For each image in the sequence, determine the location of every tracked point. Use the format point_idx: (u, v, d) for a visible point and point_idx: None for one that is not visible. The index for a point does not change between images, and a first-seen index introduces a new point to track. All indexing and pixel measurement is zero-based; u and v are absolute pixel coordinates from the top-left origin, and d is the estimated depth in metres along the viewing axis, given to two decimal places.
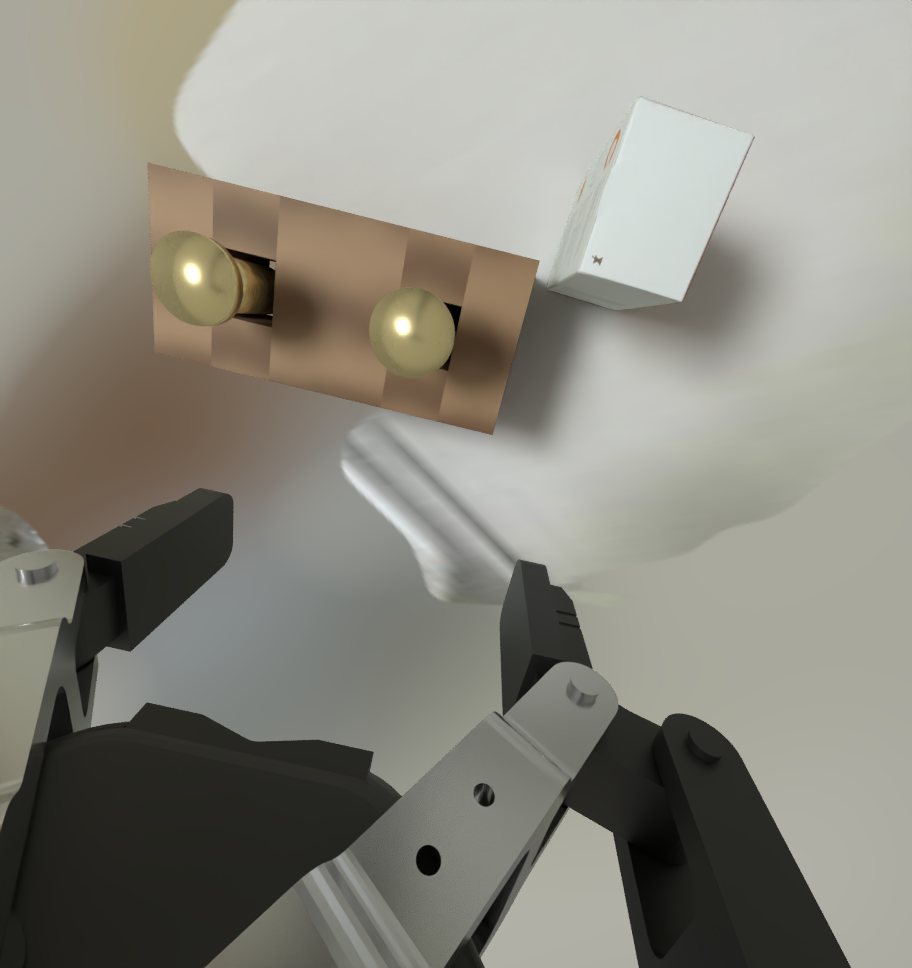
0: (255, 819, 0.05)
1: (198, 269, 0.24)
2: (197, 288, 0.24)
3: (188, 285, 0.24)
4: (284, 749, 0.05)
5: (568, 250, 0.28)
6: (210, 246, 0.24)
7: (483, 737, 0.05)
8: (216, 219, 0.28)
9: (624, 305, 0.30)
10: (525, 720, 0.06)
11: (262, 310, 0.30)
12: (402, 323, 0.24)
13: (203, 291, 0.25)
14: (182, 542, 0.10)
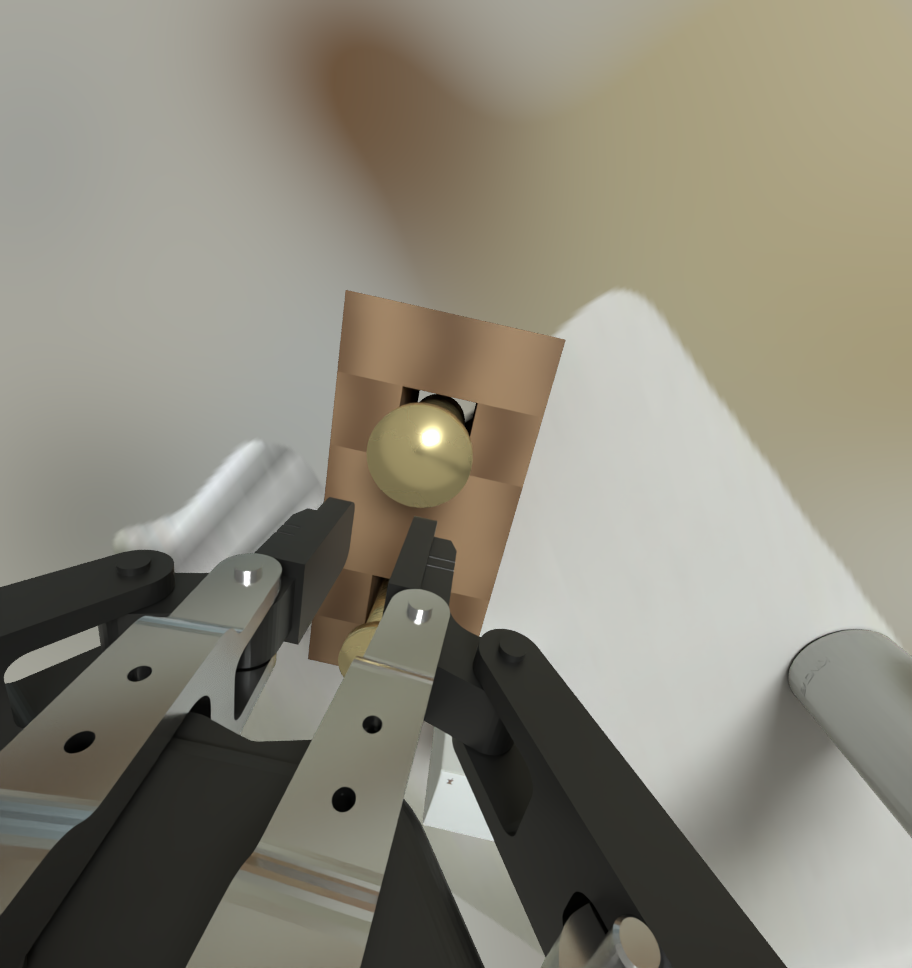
0: (255, 819, 0.05)
1: (431, 469, 0.20)
2: (410, 463, 0.20)
3: (412, 453, 0.20)
4: (285, 750, 0.05)
5: None
6: (455, 488, 0.20)
7: (355, 681, 0.06)
8: (503, 413, 0.24)
9: None
10: (382, 652, 0.07)
11: None
12: None
13: (406, 469, 0.20)
14: (330, 546, 0.11)
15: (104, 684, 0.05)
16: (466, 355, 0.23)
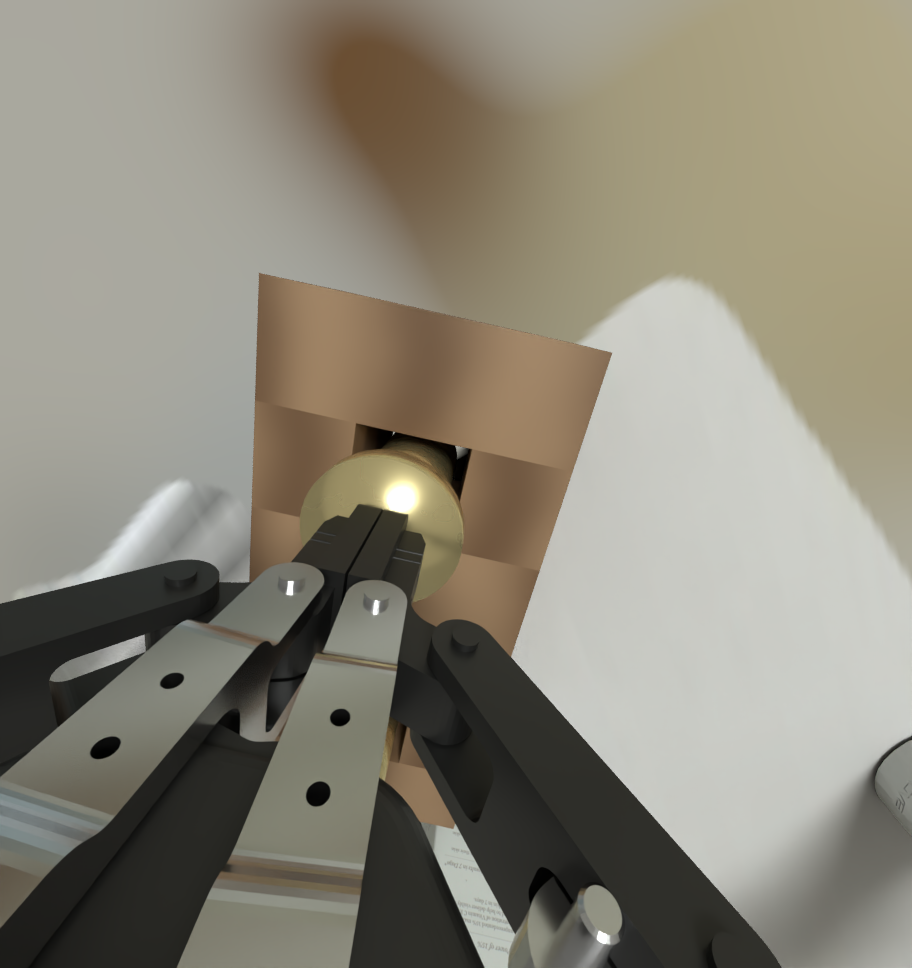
0: None
1: None
2: None
3: None
4: None
5: None
6: (437, 579, 0.13)
7: (318, 676, 0.06)
8: (511, 464, 0.16)
9: None
10: (342, 646, 0.07)
11: None
12: None
13: None
14: None
15: (138, 688, 0.05)
16: (453, 377, 0.15)
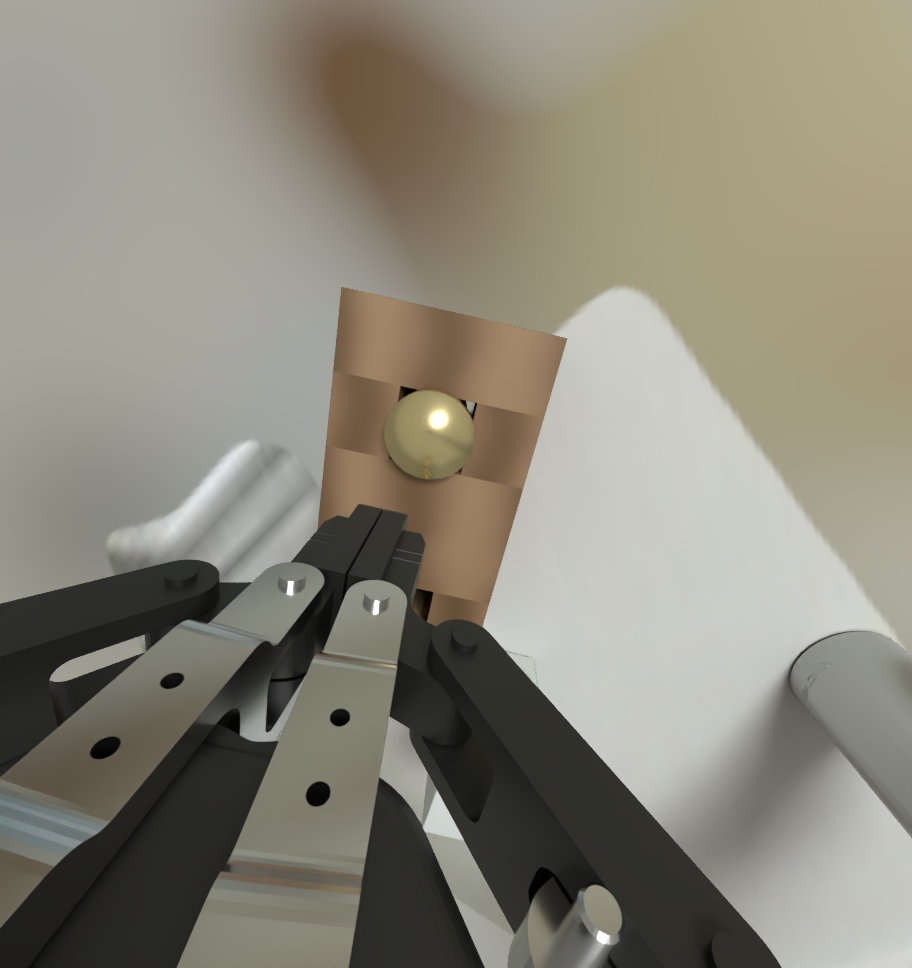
0: None
1: (439, 445, 0.23)
2: (421, 441, 0.23)
3: (423, 431, 0.23)
4: None
5: None
6: (460, 462, 0.24)
7: (318, 676, 0.06)
8: (503, 413, 0.24)
9: None
10: (342, 646, 0.07)
11: None
12: None
13: (418, 446, 0.23)
14: None
15: (138, 688, 0.05)
16: (465, 354, 0.23)
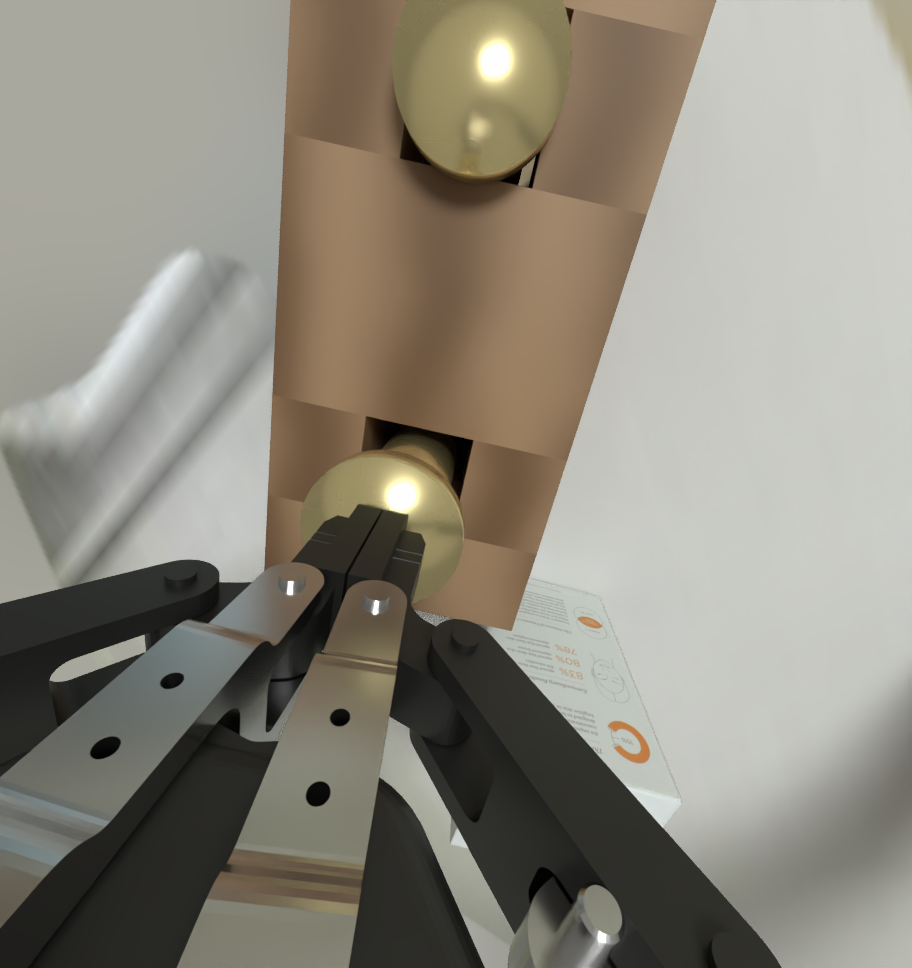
0: None
1: (500, 88, 0.12)
2: (465, 78, 0.12)
3: (470, 53, 0.12)
4: None
5: (523, 645, 0.22)
6: (539, 128, 0.12)
7: (318, 677, 0.06)
8: (624, 32, 0.12)
9: None
10: (342, 646, 0.07)
11: None
12: None
13: (459, 92, 0.12)
14: None
15: (138, 689, 0.05)
16: None
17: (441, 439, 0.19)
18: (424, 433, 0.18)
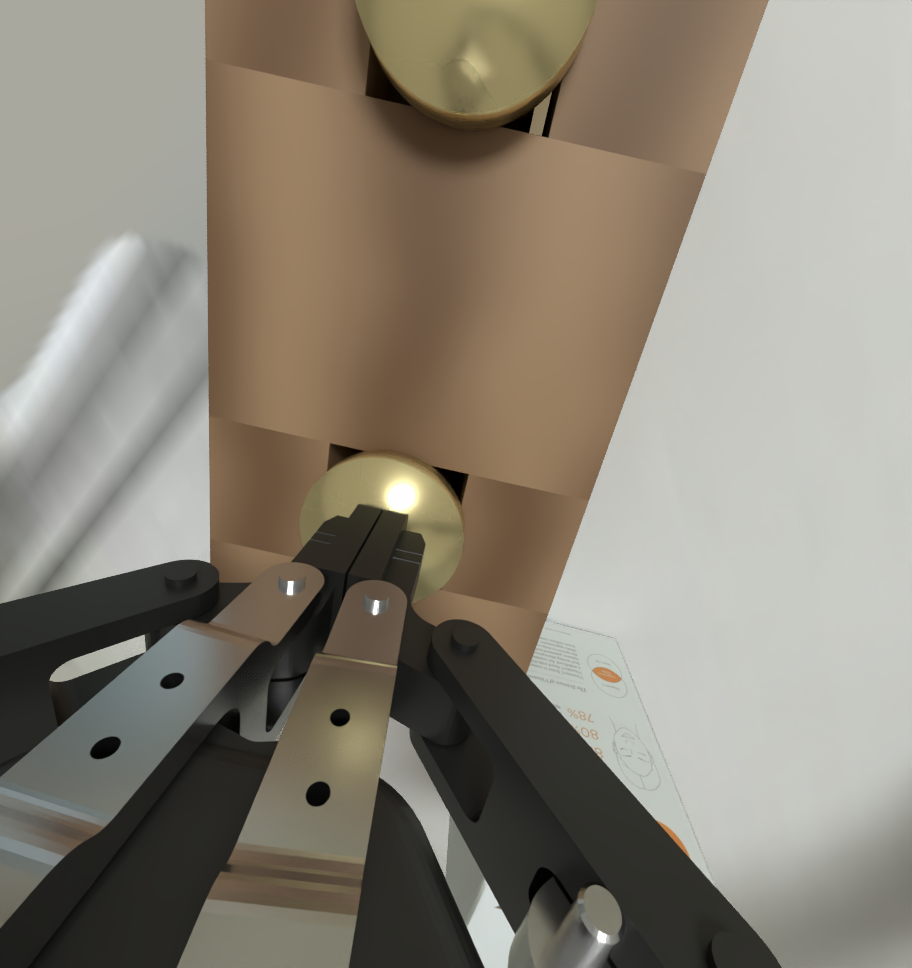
0: None
1: None
2: None
3: None
4: None
5: None
6: (562, 41, 0.08)
7: (318, 676, 0.06)
8: None
9: None
10: (342, 646, 0.07)
11: None
12: None
13: None
14: None
15: (138, 688, 0.05)
16: None
17: None
18: None
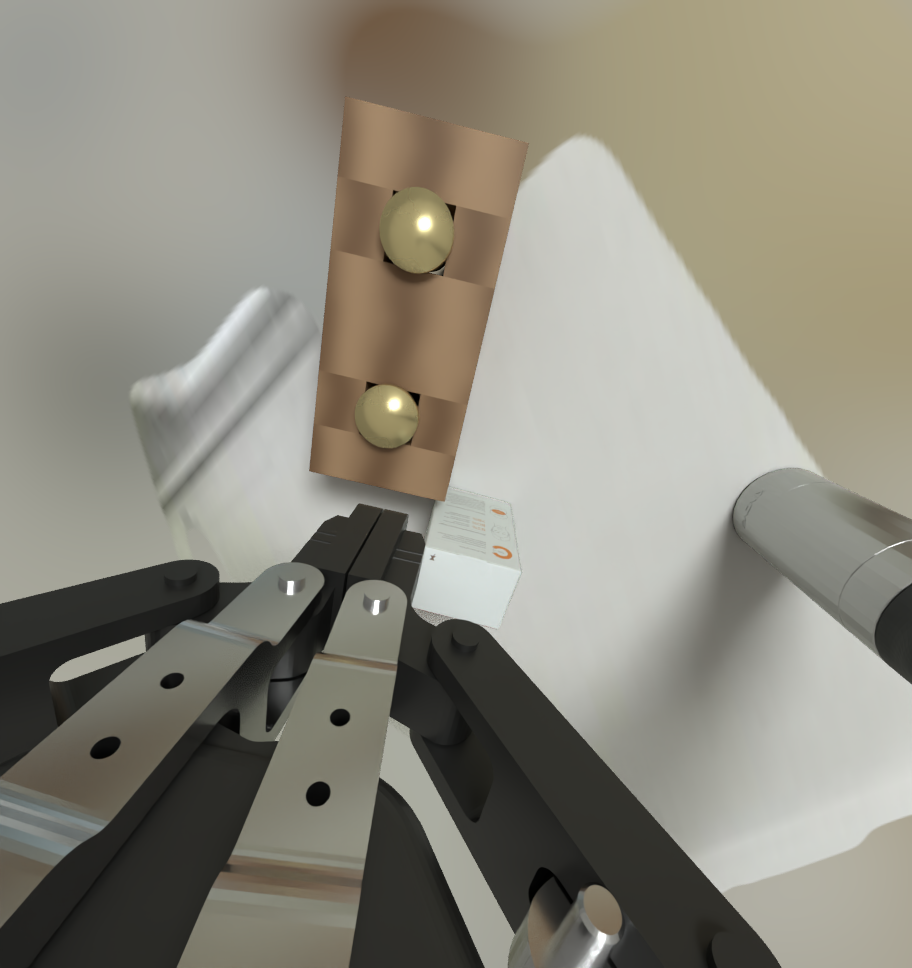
0: None
1: (424, 239, 0.28)
2: (410, 235, 0.28)
3: (412, 226, 0.28)
4: None
5: (454, 516, 0.39)
6: (442, 255, 0.29)
7: (318, 676, 0.06)
8: (477, 215, 0.29)
9: None
10: (342, 646, 0.07)
11: None
12: (393, 411, 0.33)
13: (407, 240, 0.28)
14: None
15: (138, 688, 0.05)
16: (446, 159, 0.28)
17: None
18: None
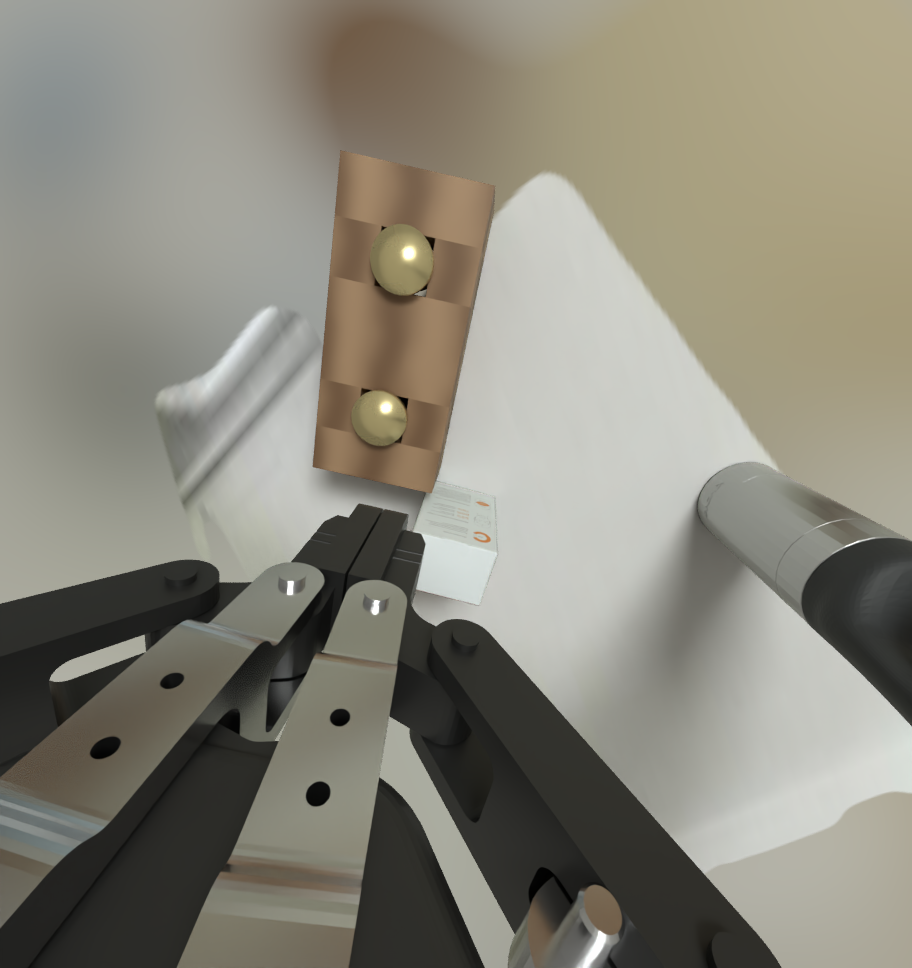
0: None
1: (408, 267, 0.33)
2: (396, 263, 0.33)
3: (397, 256, 0.33)
4: None
5: (441, 506, 0.43)
6: (423, 280, 0.34)
7: (318, 676, 0.06)
8: (453, 245, 0.34)
9: None
10: (342, 646, 0.07)
11: None
12: (384, 413, 0.38)
13: (394, 268, 0.33)
14: None
15: (138, 688, 0.05)
16: (426, 200, 0.33)
17: None
18: None
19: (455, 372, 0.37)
